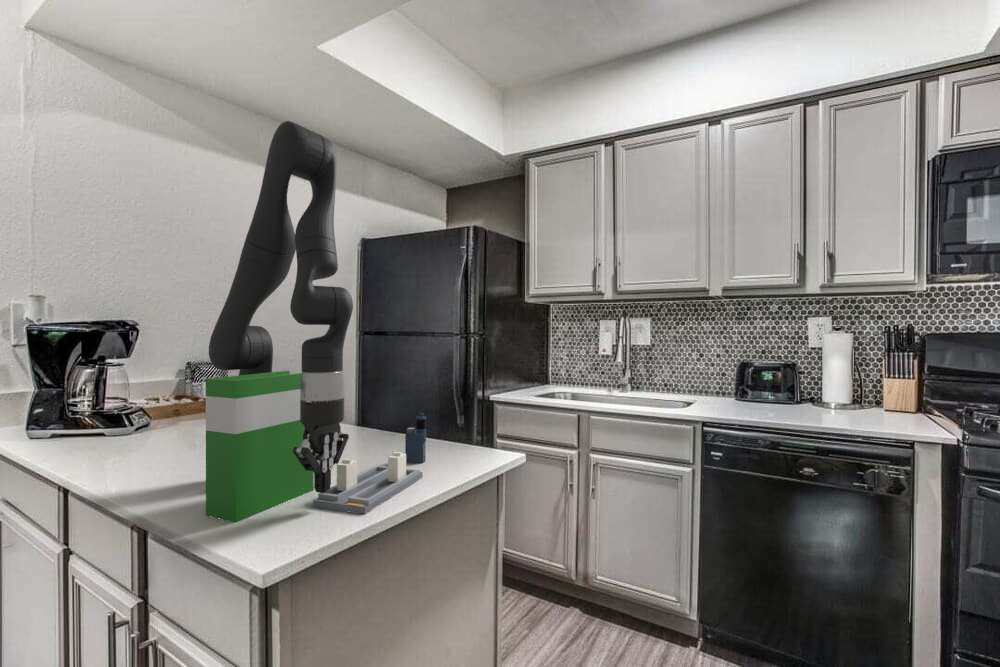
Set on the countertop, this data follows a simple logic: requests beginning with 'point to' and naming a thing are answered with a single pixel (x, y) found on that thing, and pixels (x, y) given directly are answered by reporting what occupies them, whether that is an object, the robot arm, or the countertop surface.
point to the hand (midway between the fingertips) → (322, 491)
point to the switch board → (366, 491)
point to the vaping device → (416, 441)
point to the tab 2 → (396, 466)
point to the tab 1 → (346, 474)
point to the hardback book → (253, 444)
